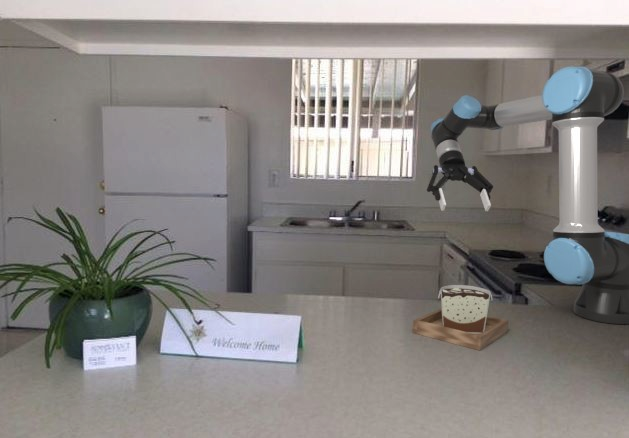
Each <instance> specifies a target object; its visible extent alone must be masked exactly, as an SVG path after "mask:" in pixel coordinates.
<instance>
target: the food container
mask: <svg viewBox="0 0 629 438" xmlns="http://www.w3.org/2000/svg"><path fill="white" fill-rule="evenodd" d="M437 299H440V309H441V311H442V326H444V327H448V328H452V329H456V330H460V331H464V332H468V333H474V334H481V333H482V332H484V330H485V324H486V318H487V316H488V313H489V311H488V310H489V306H490V301H493V295H492V293H491V291H490V290H489V289H486V288H482V287H480V286H473V285H464V284H453V285H452V284H450V285H445V286H444V285H443V286H442V287H440V290H439V291H438V296H437Z"/></svg>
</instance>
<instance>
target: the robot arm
mask: <svg viewBox="0 0 629 438" xmlns="http://www.w3.org/2000/svg"><path fill="white" fill-rule="evenodd" d="M624 95H625V89H624V86H623V83H622V81H621V80H620V78H619V77H618V76H617V75H615V74H614V73H612V72H610V71H609V72H608V71H604V70H599V69H593V68H588V67H585V66H581V65H580V66H574V65H573V66H570V65H569V66H565V67H562V68H560V69H558V70H557V71H556V72H554V73H553V74H551V77H550V78H549V79H548V80H547V81H546V82H545V85H544V87H543V90H542V94H539V95H535V96H531V97H530V96H529V97H526V98H522V99H516V100H512V101H508V102H502V103H498V104H492V105H485V104H481V103H480V102H479V100H478V99H477V98H475V97H473V96H470V95H467V94H465V95H462V96H461V97H459V99H458V101H456V102H455V103H454V104H453V106H452V108H451V109H450V110H449V112H448V113H447V114H446V115H445V117H444V118H443V117H442V118H438V119H437V120H436V121H433V123H432V124H431V125H430V133H431V134H430V135H431V136H430V138H431V139H432V142H433V146H434V150H435V152H436V155H437V156H436V157H437V159H438V163H439V166H440V167H439V166H438V165H436V164H435V165H433V167H432V170H431V172H432V174H431V179H430V181H429V183H428V185H427V188H426V191H427V193H430V192H431V194H432V195H433V196H434V199H435V201H438V204H439V208H440V211H441V212H443V211H445V209H446V206H447V203H446V199H445V195H444V191H443V186H444V185H445V184H446V183H448V181H451V182H452V181H458V182H460V181H461V182H463V183H464V184H466V183H467V184H468V185H469V186H470V187H472V188H473V189H475V190H476V191H478V192H479V193H480V194H479V196H480V200H481V202H482V205H483V208H484V211H485V212H489V210H490V209H491V207H492V204H491V201H490V200H491V192H492V190H493V189H494V185H493V184H492V183H491V182H490V181H489V180H488V179H487V178H486V177H485V176H483V174H482V173H481V172H479V170H478V168H477V166H475V165H473V166H472V167H469V168H468V167H467V166H466V162H465V159H464V156H463V153H462V149H461V147H460V143H459V140H458V139H459V137H460V136H461V135H462V134H463V133H464V131H465V130H466V129H467V128H471V129H480V130H481V129H482V130H483V129H484V130H489V131H490V130H491V131H494V130H497V131H498V130H502V129H504V128H505V127H509V126H517V125H522V124H528V123H529V124H531V123H536V122H542V121H549V120H551V125H552V126H553V127H554V128H556V129H557V131H558V188H559V189H558V193H559V194H558V196H559V199H558V201H559V202H558V203H559V207H558V208H559V209H558V211H559V212H558V213H559V214H558V215H559V224H558V225H557V226H556V227H554V228H553V230H552V240H551V241H550V242H549V243H548V245H546V247H545V249H544V252H543V261H544V266H545V268H546V270H547V271H548V273H549V274H550V275H551V277H553V278H554V279H555V280H556V281H558V282H560V283H563V284H566V285H582V286H581V288H580V290H579V292H578V295H577V297H576V298H575V301H574V304H573V311H572V312H573V313H574V314H576V316H578V317H580V318H584V319H587V320H591V321H594V322H600V323H605V324H606V323H607V324H616V325H629V234H628V233H622V232H614V231H606V230H605V229H604V228H602V226H600V225H599V222H598V221H599V220H598V215H599V214H598V212H599V211H598V209H599V208H598V127H599V125H601V124H602V123H603V122H604V121H605V117H606V116H608V115H610V114H612V113H614V112H615V110H617V109H618V108H619V107H620V105H621V103H622V102H623V99H624ZM440 173H441V175H443V176H442V177H441V179H440V180H439V181H438V182H437V183H436V184H435V185H434V183H435V181H436V179H437V176H438V175H439V174H440Z"/></svg>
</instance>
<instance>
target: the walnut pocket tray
mask: <svg viewBox="0 0 629 438" xmlns="http://www.w3.org/2000/svg"><path fill="white" fill-rule="evenodd" d="M412 323H413V324H412V334H417V335H420V336H423V337H427V338H431V339H435V340H439V341H442V342H446V343H450V344H454V345H457V346H462V347H465V348H469V349H472V350H477V351H482V350H483V349H485V348H486V347H488V346H489V345H491V344H493V343H494V342H495V341H497V340H498V339H500V338H501V337H503V336H504V334H505V335H506V334H507V332H508V331H509V319H504V318H499V317H495V316H491V315H487V318H486V324H485V330H484V332H482V333H481V334H474V333H468V332H464V331H460V330H456V329H452V328H448V327H444V326H442V311H441V308H438V309H436V310H433V311H432V312H429V313H427V314H425V315H423V316H420V317H418V318H416V319H414V320H412ZM508 333H509V332H508Z"/></svg>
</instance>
